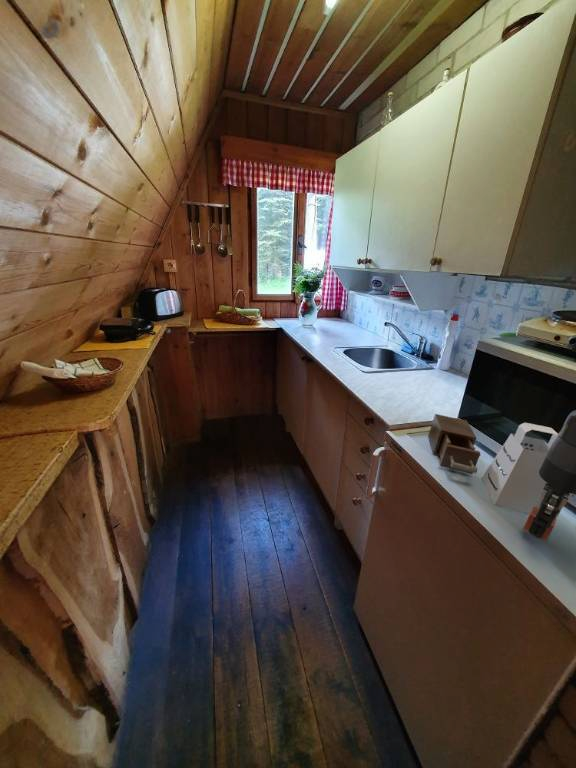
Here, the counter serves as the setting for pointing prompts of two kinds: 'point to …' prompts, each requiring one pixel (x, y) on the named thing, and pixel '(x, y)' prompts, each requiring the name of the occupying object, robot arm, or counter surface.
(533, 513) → the block
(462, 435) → the cabinet
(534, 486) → the grater
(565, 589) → the counter surface
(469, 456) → the drawer
